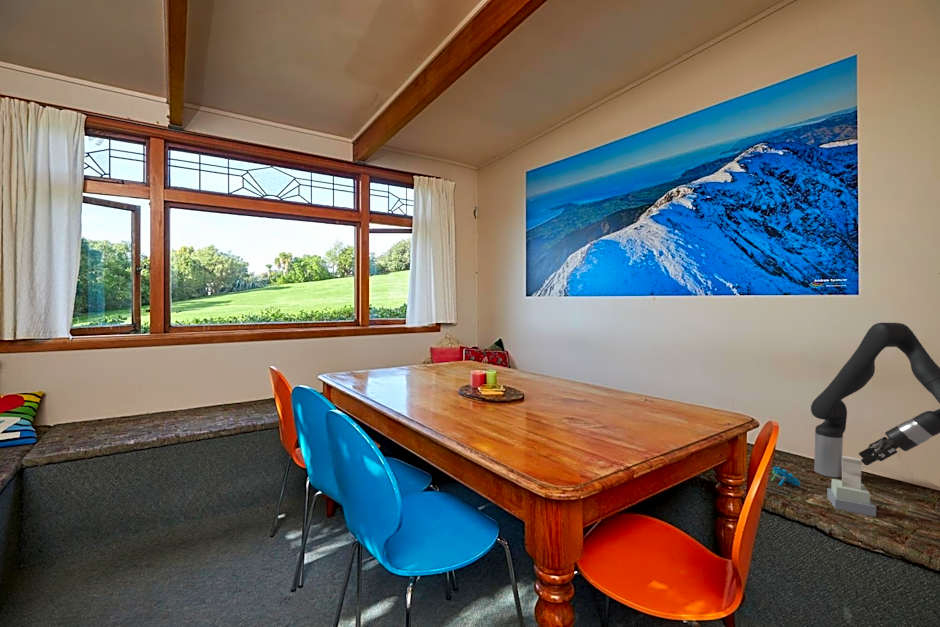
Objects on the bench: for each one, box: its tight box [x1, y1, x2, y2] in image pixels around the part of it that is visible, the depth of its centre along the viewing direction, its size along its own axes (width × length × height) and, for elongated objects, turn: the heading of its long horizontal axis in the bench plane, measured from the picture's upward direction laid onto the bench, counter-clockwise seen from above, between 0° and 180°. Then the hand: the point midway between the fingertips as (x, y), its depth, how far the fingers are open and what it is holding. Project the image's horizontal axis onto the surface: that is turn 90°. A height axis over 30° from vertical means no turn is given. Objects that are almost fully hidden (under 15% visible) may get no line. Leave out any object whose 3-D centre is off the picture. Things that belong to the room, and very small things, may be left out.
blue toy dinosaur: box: [770, 466, 802, 487], centre depth 172 cm, size 11×6×10 cm
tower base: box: [826, 487, 877, 518], centre depth 154 cm, size 11×11×4 cm
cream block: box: [841, 455, 862, 490], centre depth 154 cm, size 5×5×10 cm
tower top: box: [830, 478, 871, 504], centre depth 154 cm, size 9×9×4 cm
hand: (862, 459), depth 152 cm, fingers open, 8 cm apart
